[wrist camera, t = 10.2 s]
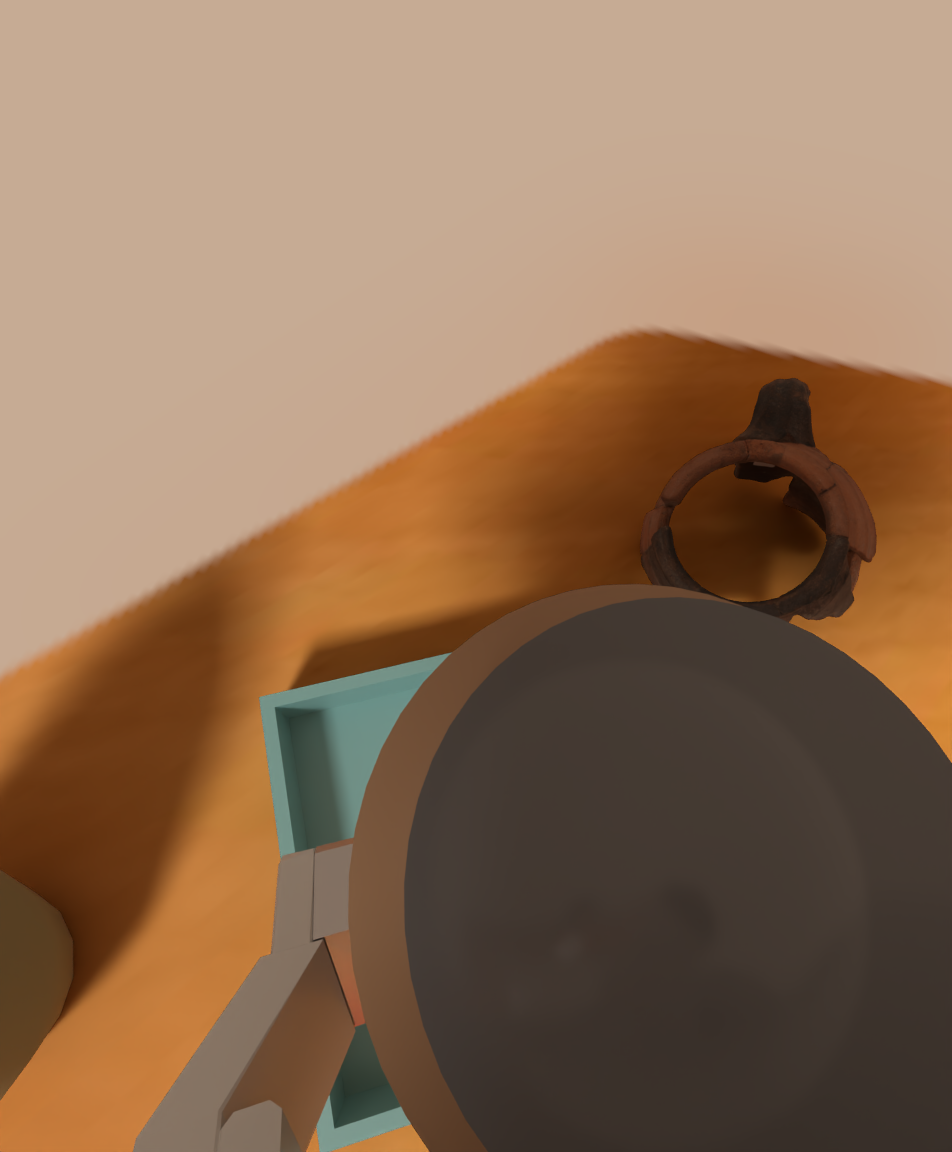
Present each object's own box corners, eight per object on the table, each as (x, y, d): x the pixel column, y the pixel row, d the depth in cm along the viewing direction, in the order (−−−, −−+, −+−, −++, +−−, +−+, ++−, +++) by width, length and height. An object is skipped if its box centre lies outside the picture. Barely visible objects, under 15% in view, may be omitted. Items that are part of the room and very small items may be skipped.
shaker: (437, 1003, 14) (424, 1607, 3) (390, 767, 16) (274, 618, 5) (656, 935, 15) (1274, 1231, 4) (586, 716, 17) (872, 486, 6)
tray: (334, 1113, 22) (320, 1155, 19) (277, 711, 27) (258, 697, 24) (711, 990, 24) (747, 1010, 21) (594, 636, 29) (611, 615, 26)
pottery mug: (860, 661, 30) (885, 652, 22) (651, 644, 34) (615, 632, 26) (867, 412, 31) (893, 327, 24) (666, 424, 35) (636, 355, 28)
